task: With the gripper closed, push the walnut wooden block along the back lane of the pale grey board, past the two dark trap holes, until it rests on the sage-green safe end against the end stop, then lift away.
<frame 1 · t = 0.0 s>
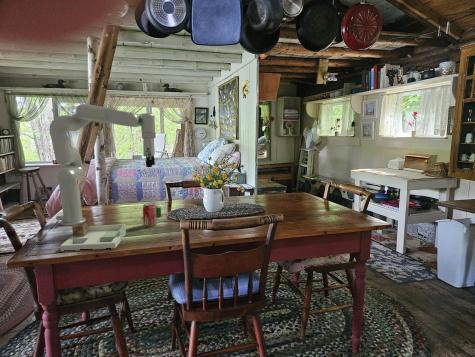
hand: (150, 166, 174), 31 cm above the table, tool pointing down, fingers open, 9 cm apart
walnut block: (80, 234, 146), point 2 cm above the table, touching trap board
puzzle toy: (155, 216, 184), on the table
soda can: (150, 225, 167), on the table
trap board: (95, 241, 143), on the table
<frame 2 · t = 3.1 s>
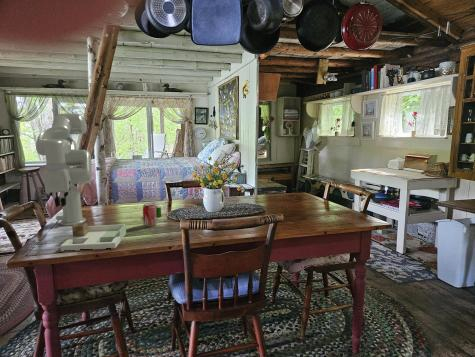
hand: (60, 205, 143), 17 cm above the table, tool pointing down, fingers closed
nothing on the table moved.
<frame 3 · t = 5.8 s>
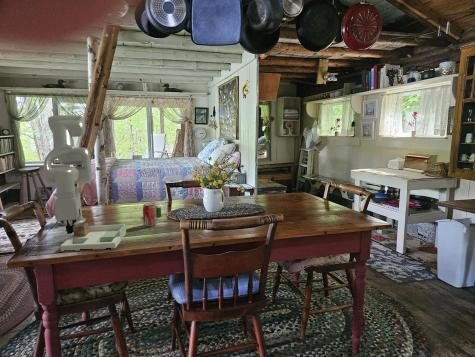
hand: (70, 232, 145), 4 cm above the table, tool pointing down, fingers closed
walnut block: (81, 234, 146), point 3 cm above the table, touching gripper
everything else where it was.
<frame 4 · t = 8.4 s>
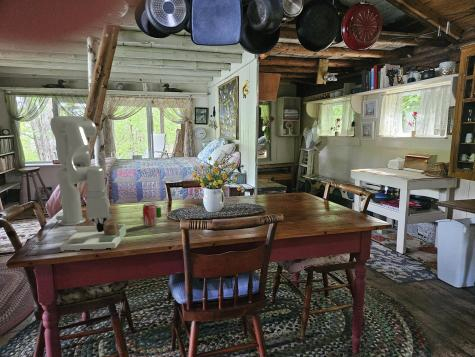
hand: (100, 231, 146), 4 cm above the table, tool pointing down, fingers closed
walnut block: (111, 233, 147), point 3 cm above the table, touching gripper
everything else where it was.
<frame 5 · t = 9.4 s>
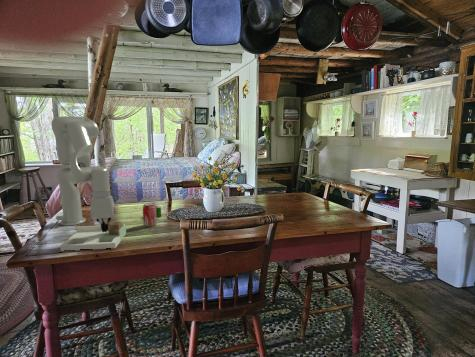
hand: (105, 231, 147), 4 cm above the table, tool pointing down, fingers closed
walnut block: (115, 233, 147), point 2 cm above the table, touching gripper, trap board
everything else where it was.
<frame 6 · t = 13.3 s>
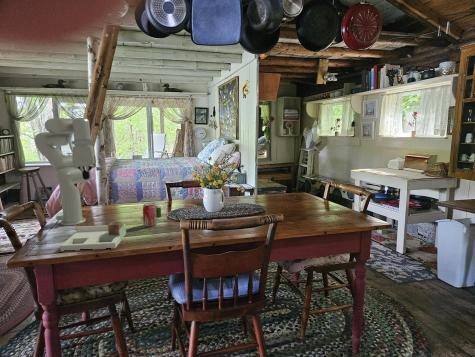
hand: (86, 179, 156), 27 cm above the table, tool pointing down, fingers closed
walnut block: (115, 233, 147), point 2 cm above the table, touching trap board
everything else where it was.
at the end: walnut block 0.7 cm from the target spot, point 2.5 cm above the table; walnut block tilted 0°; walnut block moved 16.3 cm from its start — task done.
